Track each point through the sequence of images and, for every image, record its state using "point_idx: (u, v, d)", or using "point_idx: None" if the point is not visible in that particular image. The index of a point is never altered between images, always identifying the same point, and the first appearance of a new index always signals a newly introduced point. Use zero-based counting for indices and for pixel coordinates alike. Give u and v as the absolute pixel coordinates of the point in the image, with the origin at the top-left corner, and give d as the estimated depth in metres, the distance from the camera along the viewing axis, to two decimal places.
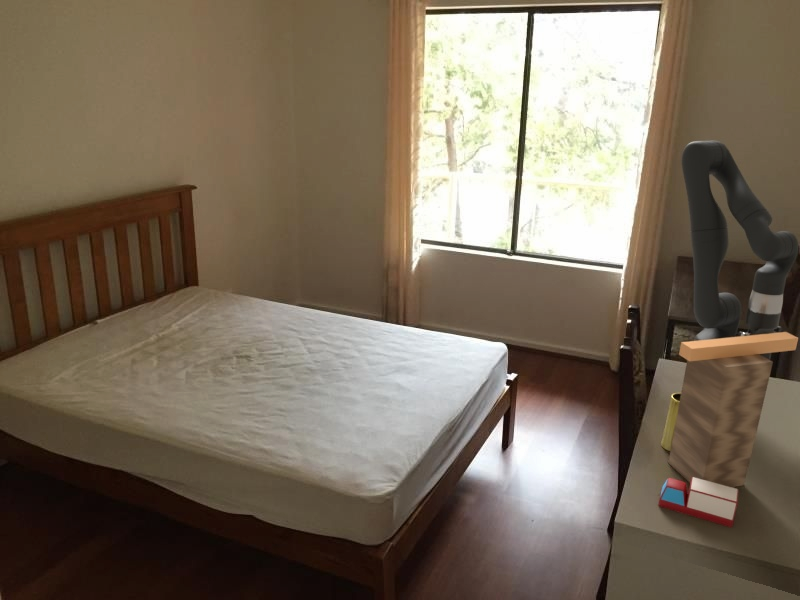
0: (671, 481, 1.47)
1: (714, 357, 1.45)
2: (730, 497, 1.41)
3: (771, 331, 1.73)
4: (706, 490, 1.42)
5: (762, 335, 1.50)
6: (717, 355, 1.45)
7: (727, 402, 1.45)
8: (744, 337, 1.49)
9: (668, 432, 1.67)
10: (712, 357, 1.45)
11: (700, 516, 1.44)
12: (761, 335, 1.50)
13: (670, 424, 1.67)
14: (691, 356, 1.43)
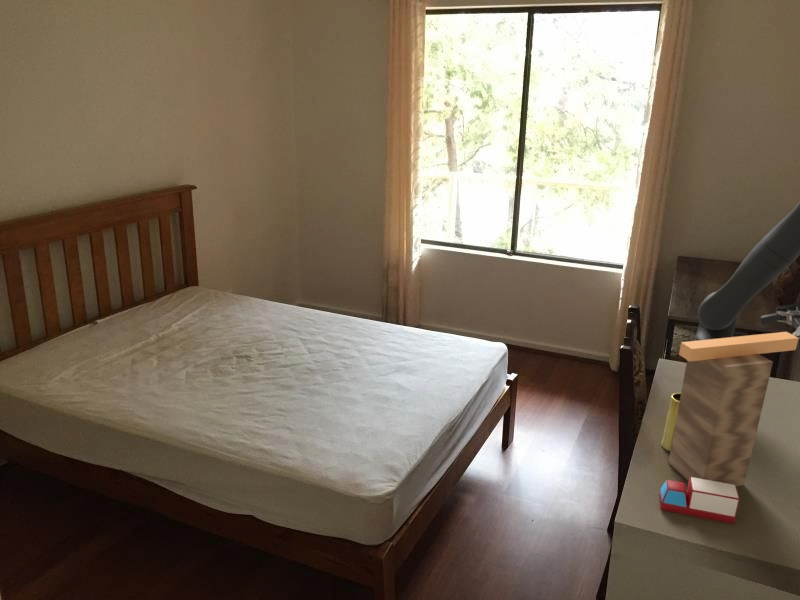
0: (671, 484, 1.47)
1: (714, 357, 1.45)
2: (731, 494, 1.41)
3: None
4: (707, 489, 1.43)
5: (762, 335, 1.50)
6: (717, 355, 1.45)
7: (727, 402, 1.45)
8: (744, 337, 1.49)
9: (668, 432, 1.67)
10: (712, 357, 1.45)
11: (702, 516, 1.44)
12: (761, 335, 1.50)
13: (670, 424, 1.67)
14: (691, 356, 1.43)
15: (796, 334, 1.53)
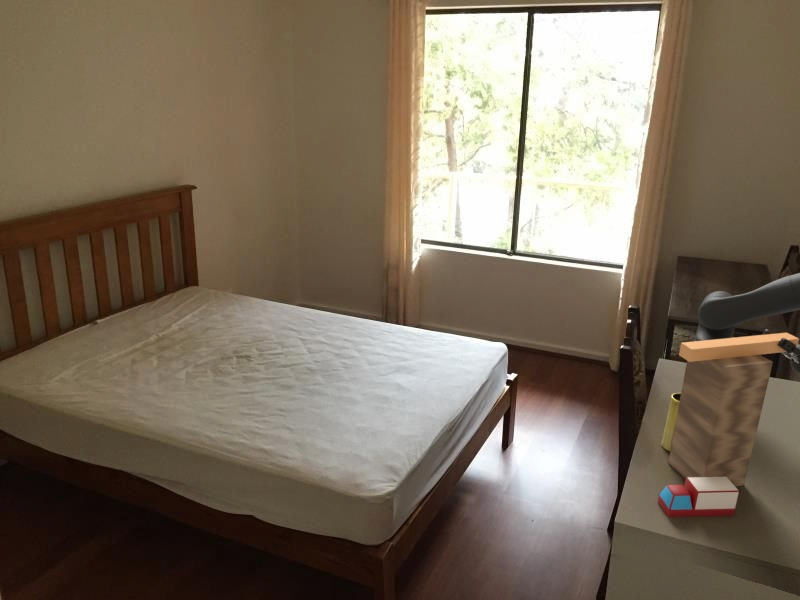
0: (673, 489, 1.45)
1: (714, 358, 1.45)
2: (730, 487, 1.44)
3: None
4: (709, 488, 1.43)
5: (763, 336, 1.50)
6: (717, 356, 1.45)
7: (727, 402, 1.45)
8: (744, 338, 1.49)
9: (668, 432, 1.67)
10: (712, 358, 1.45)
11: (706, 514, 1.44)
12: (762, 336, 1.50)
13: (670, 424, 1.67)
14: (691, 356, 1.43)
15: (799, 346, 1.48)
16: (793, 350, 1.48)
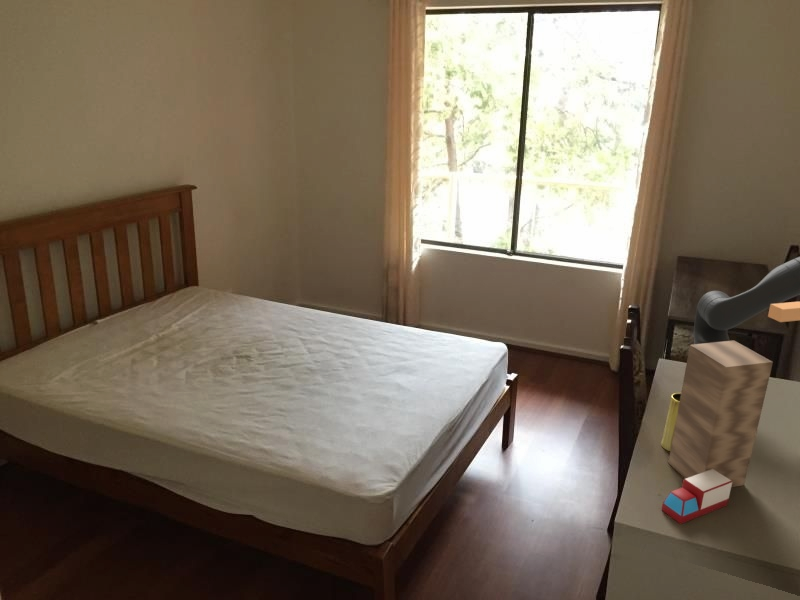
0: (679, 494, 1.43)
1: None
2: (723, 479, 1.46)
3: None
4: (709, 485, 1.44)
5: None
6: None
7: (727, 402, 1.45)
8: None
9: (668, 432, 1.67)
10: None
11: (708, 511, 1.45)
12: None
13: (670, 424, 1.67)
14: (782, 316, 1.46)
15: None
16: None
